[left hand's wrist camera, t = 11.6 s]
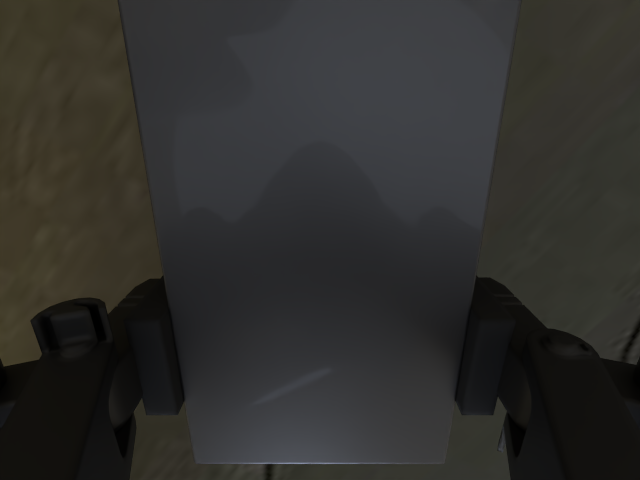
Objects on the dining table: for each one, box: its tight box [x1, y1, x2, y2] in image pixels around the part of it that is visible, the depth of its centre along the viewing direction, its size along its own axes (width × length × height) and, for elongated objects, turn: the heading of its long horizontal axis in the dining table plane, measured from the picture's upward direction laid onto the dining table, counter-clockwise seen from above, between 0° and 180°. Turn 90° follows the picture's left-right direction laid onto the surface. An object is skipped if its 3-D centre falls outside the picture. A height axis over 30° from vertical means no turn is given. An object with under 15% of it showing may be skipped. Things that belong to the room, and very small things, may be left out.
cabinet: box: [118, 0, 522, 464], centre depth 12 cm, size 18×7×11 cm, turn 0°
